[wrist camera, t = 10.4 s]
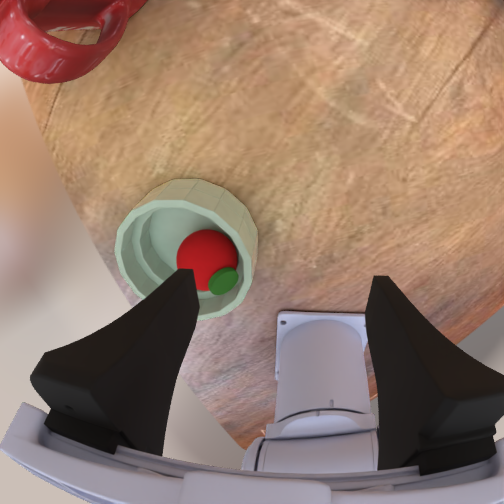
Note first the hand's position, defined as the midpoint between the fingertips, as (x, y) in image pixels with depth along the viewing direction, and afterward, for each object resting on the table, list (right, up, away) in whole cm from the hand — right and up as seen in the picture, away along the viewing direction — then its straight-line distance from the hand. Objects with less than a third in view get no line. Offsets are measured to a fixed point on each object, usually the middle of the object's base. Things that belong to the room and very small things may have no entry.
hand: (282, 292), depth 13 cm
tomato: (-5, +2, +9) cm, 11 cm away
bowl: (-5, +3, +10) cm, 12 cm away
